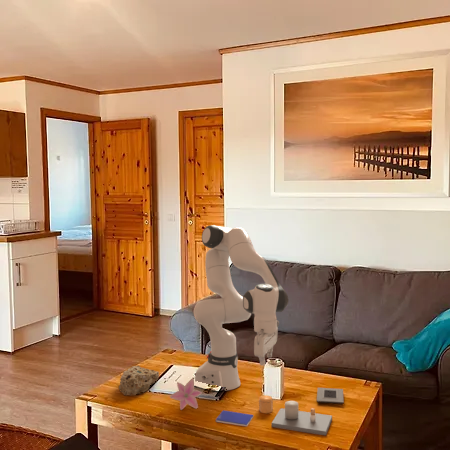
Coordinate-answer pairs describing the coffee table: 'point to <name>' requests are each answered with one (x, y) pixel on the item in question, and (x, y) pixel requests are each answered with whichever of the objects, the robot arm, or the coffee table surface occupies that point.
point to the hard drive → (234, 418)
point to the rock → (137, 380)
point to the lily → (186, 394)
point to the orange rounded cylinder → (265, 404)
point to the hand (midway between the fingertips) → (266, 360)
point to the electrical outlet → (330, 395)
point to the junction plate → (301, 420)
